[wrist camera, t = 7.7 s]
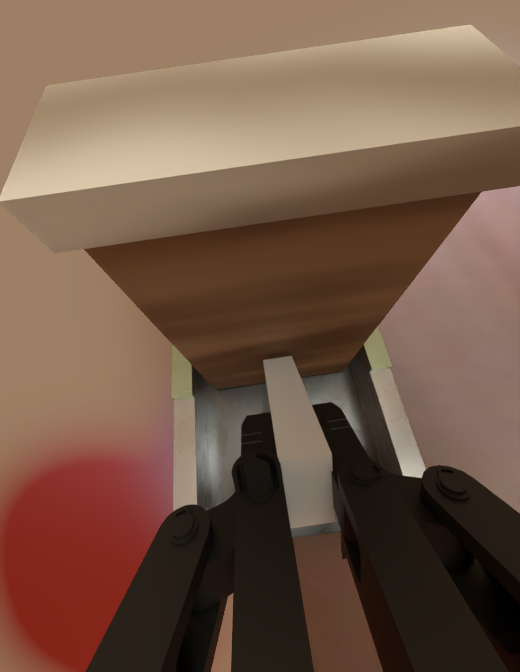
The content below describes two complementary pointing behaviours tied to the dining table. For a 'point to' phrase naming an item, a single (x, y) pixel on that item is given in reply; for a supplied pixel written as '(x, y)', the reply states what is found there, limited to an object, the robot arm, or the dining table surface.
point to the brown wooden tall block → (272, 187)
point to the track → (238, 402)
